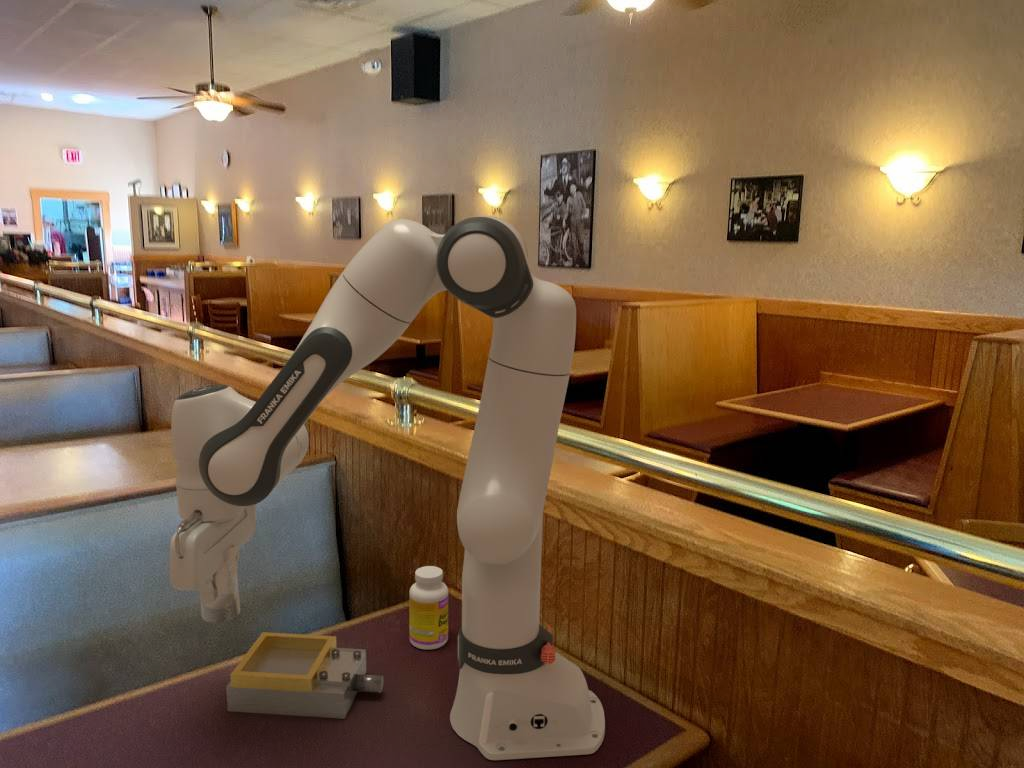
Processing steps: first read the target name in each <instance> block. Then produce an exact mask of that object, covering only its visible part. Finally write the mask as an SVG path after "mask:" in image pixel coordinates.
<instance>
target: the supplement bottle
mask: <svg viewBox="0 0 1024 768" xmlns="http://www.w3.org/2000/svg"><path fill="white" fill-rule="evenodd" d="M414 579H415V580H414V581H415V583H413V584H412V585H411V587H410V588H409V592H408V593H409V594H408V595H409V596H408V597H409V601H408V602H409V603H408V604H409V606H408V607H409V609H408V611H409V612H408V614H409V625H408V627H409V642H410V643H411V645H412V646H413V647H414V648H415V647H416V649H420V650H436V649H439V648H441V647H443V646H444V645H445V644H446V643H447V642H448V640H449V588H448V586H447V585H446V583H445V582H444V581H443V579H444V572H443V569H442V568H440V567H438V566H435V565H426V566H421V567H419V568H416V570H415V572H414Z"/></svg>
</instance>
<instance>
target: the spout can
mask: <svg viewBox="0 0 1024 768" xmlns="http://www.w3.org/2000/svg"><path fill="white" fill-rule="evenodd" d="M223 558H224V562H223V565H222V566H221V567H220V568H219V569H218V570H217V571H216V572H215V573H214V574H213V580H212V581H211V582H212V585H213V587H217V595H218V597H217V598H216V599H215V601H214V602H213V603H211V604H204V603H202V602H201V597H199V599H200V610H201V618H202V620H203V621H204V622H207V623H211V624H212V623H215V624H217V623H224V622H228V621H231V620H232V619H234V618H236V617H237V616H239V615H240V613H241V603H240V594H239V593H240V592H239V581H238V580H239V578H238V569H237V567H238V565H237V566H236V554H235V545H233V546H232V547H231V548H230V549H229V550H227V551H226V552H225V553H224V554H223Z"/></svg>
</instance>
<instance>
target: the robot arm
mask: <svg viewBox="0 0 1024 768" xmlns="http://www.w3.org/2000/svg"><path fill="white" fill-rule="evenodd" d="M446 291H447V292H448V293H449V294H451V295H452V296H453V297H454V298H456V299H457V300H458V301H460V302H461V303H463V304H465V305H466V306H469V307H471V308H474V309H475V310H477V311H479V312H481V313H483V314H484V315H487V317H490V318H492V323H493V326H492V327H493V330H492V337H491V342H490V347H489V353H488V357H487V364H486V369H485V374H484V378H483V379H484V380H483V384H482V385H483V386H482V391H481V395H480V400H479V401H480V402H479V407H478V412H477V417H476V421H475V423H474V424H475V425H474V430H473V435H472V438H471V442H470V447H469V450H468V451H469V452H468V455H467V456H468V457H467V461H466V465H465V471H464V475H463V478H462V479H463V480H462V485H461V489H460V492H459V493H460V494H459V499H458V505H457V509H456V525H457V532H458V537H459V540H460V541H461V545H462V546H463V547H464V552H463V553H464V557H463V565H462V566H463V567H462V574H461V575H462V576H461V577H462V578H461V624H460V626H459V631H458V635H457V660H458V667H459V675H458V682H457V687H456V692H455V697H454V700H453V705H452V708H451V710H450V714H449V722H450V724H451V728H452V729H453V730H454V731H455V733H456V734H457V736H459V737H460V738H461V739H463V740H464V741H465V742H467V743H470V744H471V745H472V746H474V747H476V748H477V749H478V751H479V752H480V753H481V755H483V757H484V758H486V760H490V761H504V760H506V761H507V760H521V759H523V760H524V759H536V758H550V757H551V758H552V757H566V756H568V757H569V756H580V755H581V756H583V755H592V754H594V753H596V751H598V750H599V748H600V747H601V745H602V743H603V741H604V739H605V735H606V734H605V733H606V718H605V710H604V708H603V707H604V706H603V704H602V702H601V700H600V699H599V698H598V696H597V695H596V694H595V693H594V692H593V691H592V690H589V687H588V683H587V680H586V677H585V675H584V673H583V671H582V670H581V668H580V667H578V665H576V664H575V663H573V662H572V661H570V660H569V659H567V658H565V657H564V656H563V655H561V654H560V653H558V652H557V650H556V648H555V646H554V635H553V634H552V628H551V624H548V625H547V629H546V628H545V627H544V626H542V624H540V615H541V614H540V612H541V611H540V609H541V608H540V607H541V606H540V605H541V604H540V603H541V575H542V572H541V571H542V552H543V551H542V547H543V521H544V508H545V503H546V497H547V492H548V486H549V483H550V477H551V471H552V467H553V460H554V455H555V450H556V444H557V439H558V434H559V433H558V432H559V428H560V425H561V418H562V415H563V413H562V412H563V408H564V404H565V399H566V396H567V395H566V394H567V389H568V386H569V380H570V375H571V370H572V364H573V360H574V359H573V358H574V353H575V344H576V333H577V306H576V301H575V299H574V298H573V296H572V295H571V294H570V293H569V292H568V290H566V289H565V288H563V287H562V286H560V285H558V284H556V283H554V282H551V281H547V280H543V279H539V278H538V277H536V276H535V275H534V274H533V273H532V272H531V269H530V266H529V255H528V248H527V245H526V243H525V240H524V239H523V237H522V236H521V234H520V233H519V231H518V230H517V229H516V228H515V227H514V226H513V225H512V224H511V223H509V222H508V221H506V220H504V219H503V218H499V217H497V216H492V215H478V216H477V215H476V216H472V217H467V218H465V219H463V220H460V221H459V222H457V223H454V225H452V226H451V227H450V228H449V229H448V230H447V231H446V232H445V233H444V234H442V233H441V234H440V233H436V232H435V231H433V230H431V229H430V228H428V227H427V226H425V225H424V224H422V223H420V222H418V221H416V220H412V219H409V218H408V219H407V218H395V219H392V220H390V221H389V222H387V223H386V224H385V225H383V226H382V227H381V228H380V229H379V230H378V231H377V232H376V233H375V234H373V235H372V237H371V238H370V239H369V240H367V242H366V243H365V244H364V245H363V246H362V247H361V248H360V249H359V250H358V252H357V253H356V254H354V256H353V258H352V259H351V260H350V262H349V263H348V264H347V266H346V267H345V268H344V270H343V271H342V272H341V273H340V275H339V276H338V278H337V279H336V281H335V282H334V284H333V285H332V287H331V288H330V290H329V292H328V293H327V295H326V296H325V298H324V300H323V302H322V303H321V305H320V306H319V308H318V311H317V312H316V314H315V316H314V317H313V320H312V321H311V323H310V324H309V327H308V328H307V329H306V331H305V333H304V334H303V336H302V337H301V340H300V342H299V344H297V347H296V348H295V350H294V351H293V353H292V355H291V356H290V357H289V359H288V360H287V362H286V363H285V364H284V365H283V366H282V368H281V369H280V371H279V372H278V374H277V375H276V376H275V377H274V379H272V381H271V382H270V384H269V385H268V386H267V388H266V389H265V390H264V391H263V393H262V394H261V395H260V396H259V398H257V400H256V401H255V400H252V399H249V398H247V397H245V396H244V395H241V393H239V392H237V391H236V390H235V389H234V388H233V387H231V386H230V385H225V384H212V385H207V386H202V387H199V388H195V389H191V390H189V391H186V392H184V393H182V394H180V395H179V396H178V397H177V398H176V399H175V401H174V402H173V403H172V408H171V409H172V410H171V419H170V420H171V421H170V422H171V423H170V425H171V426H170V427H171V428H170V429H171V446H172V447H171V449H172V455H173V457H174V460H175V461H176V465H177V474H176V478H175V487H176V497H177V508H178V515H179V517H180V518H181V519H182V521H181V522H180V523H179V524H178V530H177V531H176V532H174V534H173V535H172V537H171V539H170V544H169V581H170V585H171V586H172V587H173V589H175V590H176V591H177V590H178V591H199V596H200V597H201V600H200V603H201V602H202V603H204V604H211V603H213V602H214V601H215V599H216V598H217V597H218V595H217V587H213V585H212V582H211V581H212V580H213V574H214V573H215V572H216V571H217V570H218V569H219V568H220V567H221V566H222V565H223V562H224V558H223V554H224V553H225V552H226V551H227V550H229V549H230V548H231V547H232V546H233V545H235V554H236V566H237V567H238V565H239V557H240V549H241V548H242V546H244V545H245V544H246V543H247V542H248V541H249V540H250V539H251V538H252V537H253V536H254V535H255V531H256V527H257V507H256V506H257V504H259V503H262V502H263V501H264V500H265V499H266V498H267V497H269V495H270V494H271V493H272V491H273V490H274V489H275V488H276V487H277V485H278V484H279V483H281V482H282V481H283V480H284V479H285V478H286V477H287V476H288V475H290V473H291V472H292V471H294V469H296V468H297V467H298V466H299V465H300V464H301V463H302V462H303V461H304V460H305V458H306V457H307V454H308V452H309V450H310V443H311V442H310V441H311V440H310V434H309V430H308V428H307V427H308V426H306V422H307V421H308V419H309V418H310V417H311V416H312V414H313V413H314V411H316V410H317V408H318V407H319V406H320V404H321V403H322V402H323V401H324V399H325V398H326V397H327V396H328V395H329V394H330V393H331V392H332V391H333V390H335V389H336V388H337V387H338V386H339V385H341V383H343V382H344V381H346V380H348V379H349V378H350V377H351V376H353V375H355V374H356V373H357V372H359V371H360V370H362V369H364V368H365V367H367V366H368V365H370V364H371V363H373V362H374V361H375V360H377V359H378V358H379V357H380V356H381V355H383V354H384V353H385V352H386V351H387V350H388V349H390V347H392V345H394V343H396V341H398V339H399V338H400V337H401V336H402V335H403V334H404V333H405V331H406V330H407V329H408V327H409V326H410V325H411V323H413V321H414V320H415V319H416V317H417V315H418V314H419V313H420V312H421V310H422V309H423V308H424V306H425V305H426V304H427V303H428V301H430V299H432V298H433V297H434V296H435V295H437V294H439V293H441V292H446ZM200 597H199V598H200Z"/></svg>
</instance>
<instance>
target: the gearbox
mask: <svg viewBox="0 0 1024 768" xmlns="http://www.w3.org/2000/svg"><path fill="white" fill-rule="evenodd" d="M229 675H230V676H229V677H230V681H229V682H228V684H227V685H226V688H225V692H226V705H227V712H231V713H232V712H235V713H249V714H250V713H251V714H265V715H279V716H280V715H282V716H295V717H311V718H312V717H313V718H329V719H340V720H341V719H343V720H344V719H346V717H347V715H348V713H349V712H350V709H351V707H352V705H353V702H354V700H355V698H356V695H357V693H358V692H367V693H379V694H380V693H382V692H383V688H384V675H376V674H374V675H373V674H367V651H366V648H365V649H361V648H346V647H337V636H334V635H320V634H319V635H318V634H317V635H316V634H304V633H303V634H301V633H299V634H298V633H282V632H281V633H280V632H267V631H264V632H263V631H262V632H261V634H260V635H259V637H258V638H257V639H256V641H254V643H253V645H251V647H250V648H249V649H248V651H247V652H246V653H245V655H244V656H243V657H242V659H241V660H240V661H239V663H238V664H237V665H236V666H235V668H234V669H233V671H232V672H231V673H230V674H229Z"/></svg>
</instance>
